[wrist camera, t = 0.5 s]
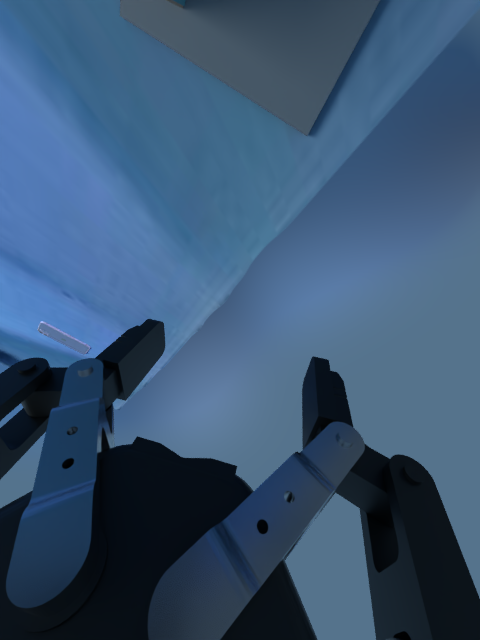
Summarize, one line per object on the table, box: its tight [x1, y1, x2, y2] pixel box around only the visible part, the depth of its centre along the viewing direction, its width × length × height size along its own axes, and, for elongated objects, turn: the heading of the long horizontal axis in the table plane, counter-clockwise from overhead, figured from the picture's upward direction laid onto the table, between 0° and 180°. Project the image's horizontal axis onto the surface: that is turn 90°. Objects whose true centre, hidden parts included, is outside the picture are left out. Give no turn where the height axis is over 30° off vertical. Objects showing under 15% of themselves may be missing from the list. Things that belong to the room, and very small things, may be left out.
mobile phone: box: [38, 321, 91, 354], centre depth 74 cm, size 8×1×15 cm
